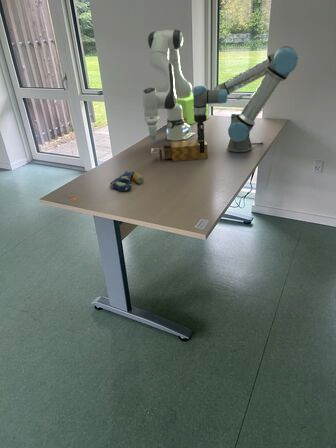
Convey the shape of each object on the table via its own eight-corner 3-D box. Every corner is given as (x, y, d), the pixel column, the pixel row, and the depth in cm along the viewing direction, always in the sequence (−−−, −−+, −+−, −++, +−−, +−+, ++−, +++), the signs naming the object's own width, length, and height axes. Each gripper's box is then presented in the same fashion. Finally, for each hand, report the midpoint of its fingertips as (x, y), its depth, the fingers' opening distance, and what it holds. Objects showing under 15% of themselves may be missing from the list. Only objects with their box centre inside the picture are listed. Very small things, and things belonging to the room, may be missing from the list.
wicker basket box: (172, 161, 208) (171, 147, 203) (171, 155, 217) (170, 142, 213) (207, 158, 207) (207, 144, 203) (205, 152, 217) (205, 139, 212)
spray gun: (149, 177, 188) (127, 175, 194) (148, 170, 185) (126, 168, 192) (130, 194, 172) (106, 191, 179) (129, 187, 170) (105, 183, 176)
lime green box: (191, 115, 302) (190, 88, 290) (208, 118, 288) (208, 90, 276) (170, 121, 289) (168, 93, 277) (187, 125, 275) (185, 95, 263)
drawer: (151, 160, 208) (150, 150, 204) (151, 155, 216) (150, 145, 213) (193, 157, 207) (192, 147, 204) (191, 152, 216) (191, 142, 212)
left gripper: (147, 113, 208) (149, 135, 215) (146, 122, 190) (148, 146, 198) (157, 113, 208) (159, 135, 215) (157, 121, 190) (159, 145, 197)
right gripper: (192, 110, 209) (193, 144, 220) (195, 119, 189) (197, 156, 200) (204, 109, 209) (204, 143, 220) (209, 118, 189) (209, 155, 200)
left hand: (154, 140), depth 206 cm, fingers closed
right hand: (201, 149), depth 210 cm, fingers closed on wicker basket box, 11 cm apart
